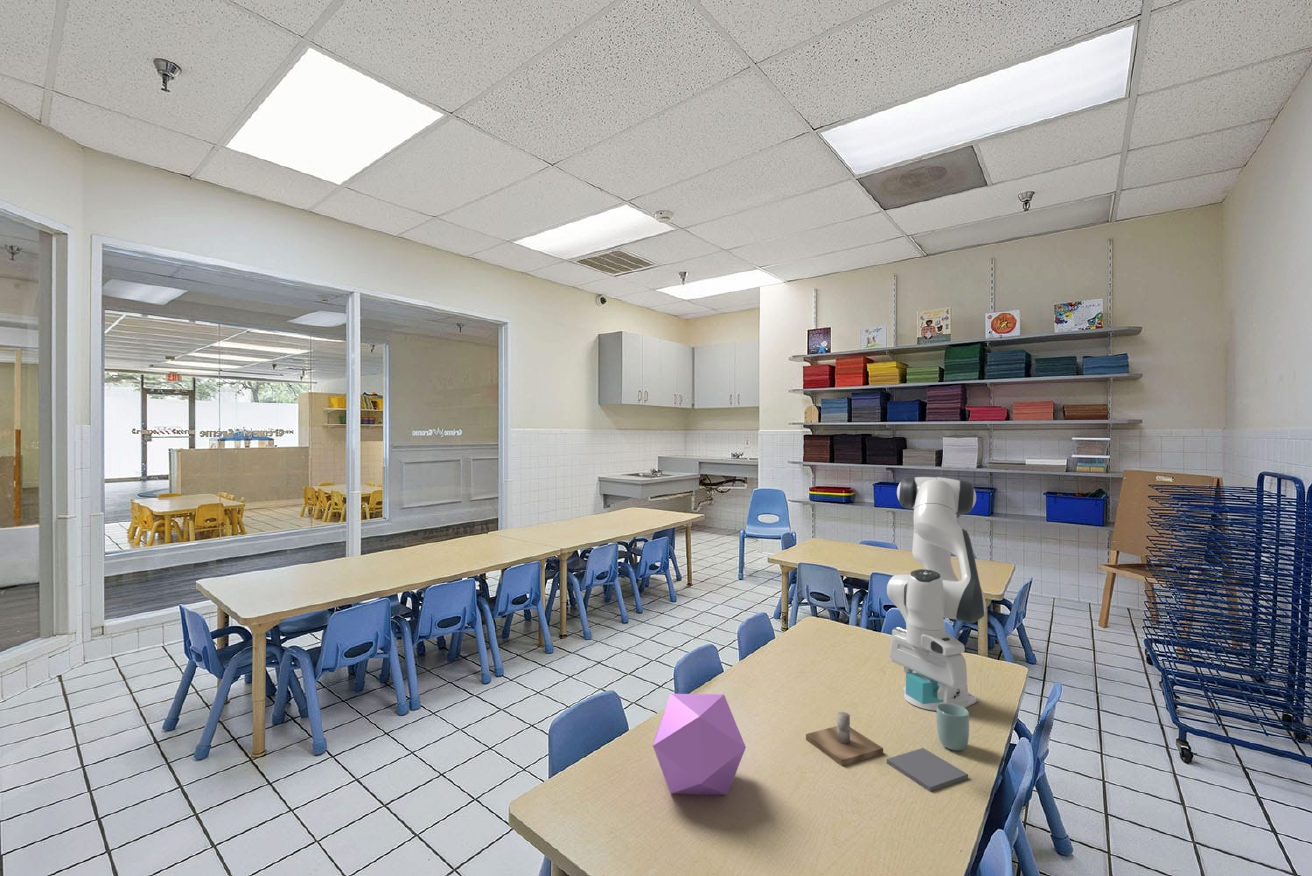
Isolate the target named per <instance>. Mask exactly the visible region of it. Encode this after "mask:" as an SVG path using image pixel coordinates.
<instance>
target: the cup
mask: <svg viewBox="0 0 1312 876" xmlns="http://www.w3.org/2000/svg"><path fill="white" fill-rule="evenodd" d="M936 729H937V730H936V731H937V735H938V736H937V737H938V739H939V741H940V743H941V745H942V746H943V747H945V748H946V749H949V750H952V751H957V752H958V751H959V752H960V751H964V750H965V749H967V746H968V744H969V740H970V739H969V738H970V713H969V711H968V709H967V708H964V707H962V706H959V705H956V704H950V703H941V704H938V705H937V711H936Z"/></svg>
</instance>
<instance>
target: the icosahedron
mask: <svg viewBox="0 0 1312 876" xmlns="http://www.w3.org/2000/svg"><path fill="white" fill-rule="evenodd" d="M653 740H654V741H653V744H652V748H653V750H654V753H655V755H656V758H657V760H658V764H659V766H660V769H661V771H662V774H663V777H664V780H665V782H666V786H667V788H668V790H669V793H670V794H671V795H704V796H705V795H707V796H709V795H710V796H711V795H712V796H715V795H717V796H728V793H729V791H730V788H731V786H732V784H733V781H734V779H735V776H736V774H737V771H738V769H739V766H740V763H741V761H742V758H743V755H744V754H745V753H744V752H745V751H746V748H747V747H746V744H745V743H744V739H743V737H742V735H741V732H740V729H739V727H738V725H737V723H736V720H735V717H734V715H733V713H732V710H731V708H730V706H729V704H728V700H727V699H726V695H725V694H723V693H722V694H721V693H718V694H717V693H714V694H713V693H709V694H708V693H670V695H669V698H668V701H667V703H666V705H665V709H664V711H663V714H662V717H661V720H660V722H659V726H658V728H657V730H656V733H655V736H654V739H653Z"/></svg>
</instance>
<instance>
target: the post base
mask: <svg viewBox="0 0 1312 876" xmlns="http://www.w3.org/2000/svg"><path fill="white" fill-rule="evenodd" d="M836 715H837V717H836V718H837V719H836V724H837V725H835V726H832V727H829V728H824V729H821V730H816V731H813V732H809V733H806V734H805V740H806V741H807V742H808V743H810V744H811V745H813V746H814V747H815V748H817V749H818V750H819V751H821V753H822V752H823V754H825V755H826V756H828V757H829V758H831V759H832V760H833V761H835V762H836V763H837V764H838V765H840V766H841V767H844V766H847V765H850V764H853V763H857V762H860V761H864V760H867V759H870V758H874V757H877V756H880V755H884V747H883V746H881V745H879V744H878V743H877V742H874V741H873V740H871V739H870V738H868V737H867V736H865V735H863V734H862V733H860V732H859V731H857V730H856V729H854V728H852V727H851V720H850V719H851V718H850V717H851V715H850V714H849V713H848V712H845V711H838V712H837V714H836Z"/></svg>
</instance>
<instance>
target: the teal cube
mask: <svg viewBox="0 0 1312 876" xmlns="http://www.w3.org/2000/svg"><path fill="white" fill-rule="evenodd" d="M905 684H906V694H907V695H908V696H910V697H912V698H913V699H915V700H917V701H918V702H920V703H921V704H930V703H940V702H943V699H942V700H939V699H937V698H935V697H934V695H935V694H934V691H935V690H938V689H939V687H940V686H938V681H936V680H933V679H931V678H929V677H926V676H924V675H922V674H920V673H912V674H905Z"/></svg>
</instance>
